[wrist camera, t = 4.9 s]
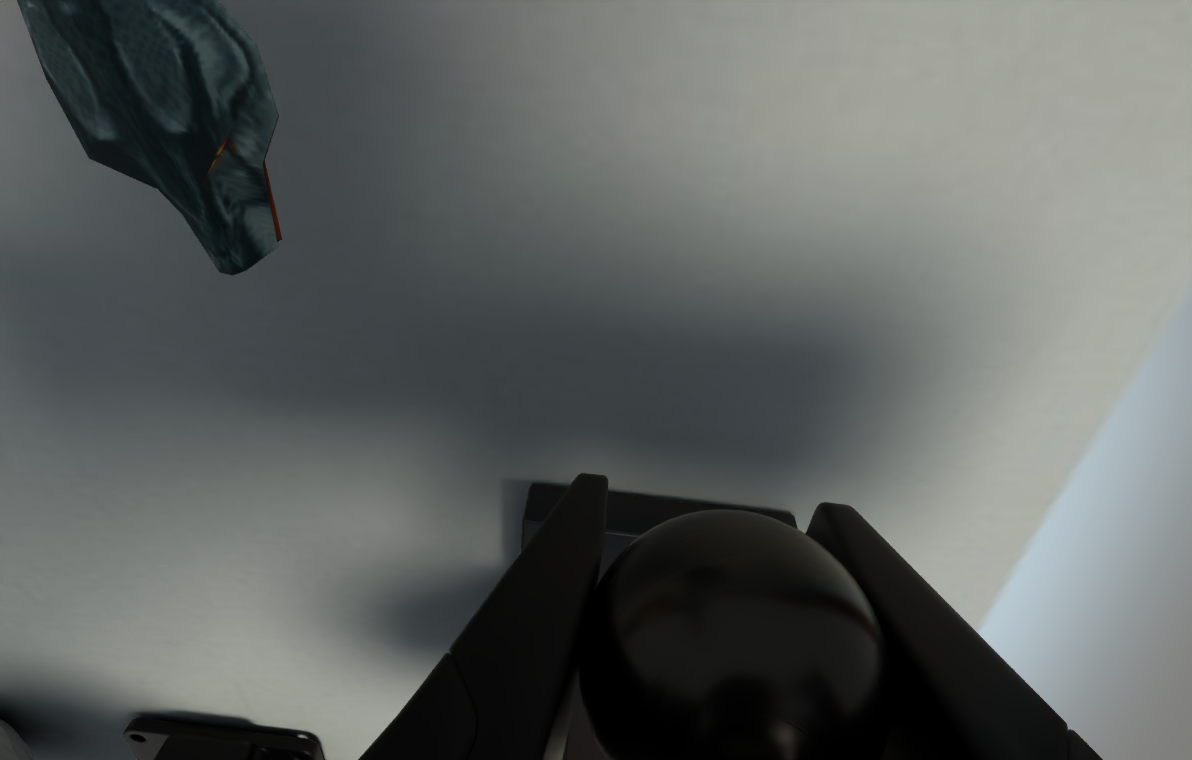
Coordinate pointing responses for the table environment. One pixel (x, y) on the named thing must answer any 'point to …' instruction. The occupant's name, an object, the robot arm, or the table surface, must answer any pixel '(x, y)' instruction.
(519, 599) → the robot arm
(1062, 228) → the table surface
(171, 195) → the stylized snake
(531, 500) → the bracket
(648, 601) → the lever
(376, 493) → the table surface
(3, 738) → the pendant light
